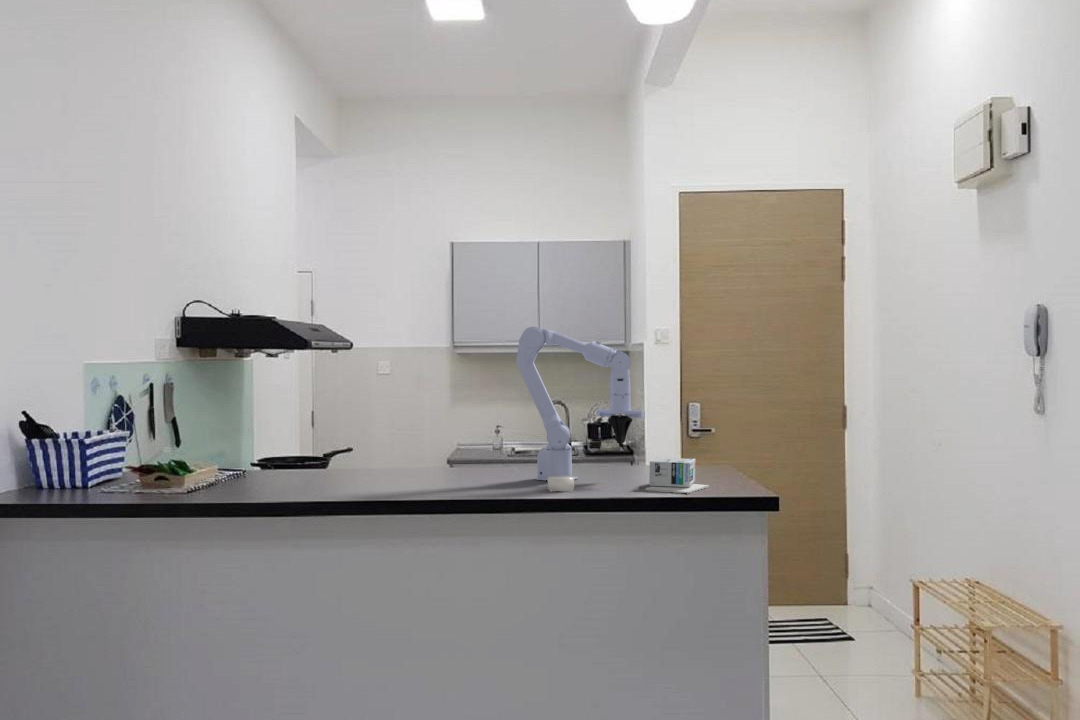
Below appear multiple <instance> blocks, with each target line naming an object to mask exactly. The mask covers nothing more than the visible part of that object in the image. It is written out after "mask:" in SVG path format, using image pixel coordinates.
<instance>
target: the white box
mask: <svg viewBox="0 0 1080 720" xmlns="http://www.w3.org/2000/svg"><path fill="white" fill-rule="evenodd" d="M704 488H705V489H707V488H710V485H709V484H697V483H693V484H692V485H691V486H690V487H689V488H688V487H669V486H650V487H646V488H645V491H648V492H649V491H650V492H661V493H670V492H673V493H672V494H681V493H687V494H686V495H689V494H688V493H690V494H693V493H696V492H698V490H699V491H702V490H704ZM701 489H702V490H701ZM695 491H696V492H695ZM692 492H693V493H692Z"/></svg>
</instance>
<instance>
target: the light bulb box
mask: <svg viewBox="0 0 1080 720" xmlns="http://www.w3.org/2000/svg"><path fill="white" fill-rule="evenodd" d="M696 463H697V462H696V458H680V457H655V458H654V459H651V460H649V479H648V480H649V486H650V487H652V486H669V487H688V488H689V487H690V486H691V485H692V484H695V483H696Z"/></svg>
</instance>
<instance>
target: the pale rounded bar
mask: <svg viewBox="0 0 1080 720" xmlns="http://www.w3.org/2000/svg"><path fill="white" fill-rule="evenodd" d="M574 477H575V476H574V475H572V476H569V475H555V476H549V477H548V481H547V491H548V490H552V491H569V492H572V491H571V490H574V491H575V479H574ZM552 491H551V492H552Z"/></svg>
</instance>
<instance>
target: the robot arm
mask: <svg viewBox="0 0 1080 720" xmlns="http://www.w3.org/2000/svg"><path fill="white" fill-rule="evenodd" d="M555 345H556V346H559V347H561V348H562V347H563V348H565V349H568V350H571V351H574V352H576V353H579V354H582V355H583V357H584V360H585V361H586V362H587V361H588V362H590V363H593V364H595V365H597V366H601V367H603V368H609V367H610V378H609V389H610V390H609V397H610V399H609V401H610V403H609V405H610V409H607V408H606V409H603V408H601V409H600V408H599V409H596V417H606V418H607V417H609V418H608V422H609V424H610V425H611V428H612V429H613V430H612V431H613V433H614V435H615V439H616V443H617V444H624V443H625V442H626V437H627V435H628V434H627V433H628V431H629V428H630V426H631V425H632V424H631V423H632V422H633V418H636V419H645V418H646V410H635V409H632V408H631V406H632V404H631V403H632V402H631V401H632V399H631V396H632V395H631V394H632V393H631V378H630V377H631V371H630V369H631V365H632V362H631V358H630V356H628V354H627V353H625V352H623V351H621V350H620V351H617V350H618V349H617V348H616V347H613V348H612V347H609V346H606V345H604V344H602V342H601V341H599V340H596V341H590V342H588V343H585V342H582V341H580V340H578V339H575V338H573V337H571V336H568V335H566V334H563V333H560V332H558V331H555V330H549V329H545V328H540V327H537V326H529V327H526V328H525V329H524V331H523V332H522V334H521V336H520V338H519V339H518V347H517V354H516V361H515V362H516V366H517V368H518V371H519V372H520V374H521V377H522V378H523V381H524V384H525V385H526V388H527V390H528V393H529V394H530V396H531V399H532V400H533V403H534V405H535V406H536V409H537V411H538V413H539V415H540V418H541V420H542V423H543V426H544V429H545V431H546V442H547V444H548V445H546V446H545V447H543V448H540V449H539V450H538V453H537V462H536V465H537V467H536V469H537V472H536V473H537V477H536V478H535V479H536V480H537V481H546V480H547V481H546V482H548V477H549V476H555V475H569V476H573V473H572V472H573V463H572V462H573V460H572V459H573V454H572V452H573V451H572V449H573V447H572V446H571V445H570V444H569V442H570V438H571V430H570V428H569V426H568V425H566V424H564V422H563V421H562V418H561V417H560V415H559V414H558V412H557V411H558V410H557V409H556V407H555V405H554V403H553V402H552V399H551V396H550V395H549V392H548V390H547V388H546V385H545V384H544V381H543V379H542V377H541V375H540V373H539V371H538V369H537V366H536V364H535V361H536V359H537V356H538V354H539V352H540V351H541V350H542V348H543V347H544V346H545V347H546V346H547V347H549V346H555ZM577 478H578V479H579V477H578V476H574V480H577Z"/></svg>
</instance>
